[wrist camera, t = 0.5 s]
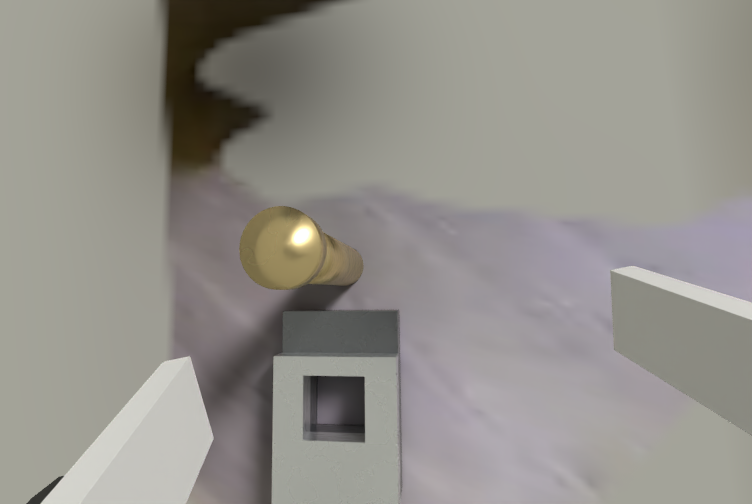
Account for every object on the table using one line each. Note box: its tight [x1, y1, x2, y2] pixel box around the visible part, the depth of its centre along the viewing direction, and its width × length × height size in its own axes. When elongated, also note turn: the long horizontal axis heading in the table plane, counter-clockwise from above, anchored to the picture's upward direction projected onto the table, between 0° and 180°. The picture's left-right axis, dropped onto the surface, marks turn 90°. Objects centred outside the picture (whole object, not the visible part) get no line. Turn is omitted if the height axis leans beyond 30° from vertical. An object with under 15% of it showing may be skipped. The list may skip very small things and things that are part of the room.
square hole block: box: [272, 310, 402, 504], centre depth 34 cm, size 15×10×4 cm, turn 1°
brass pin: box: [239, 206, 363, 290], centre depth 29 cm, size 4×4×16 cm
